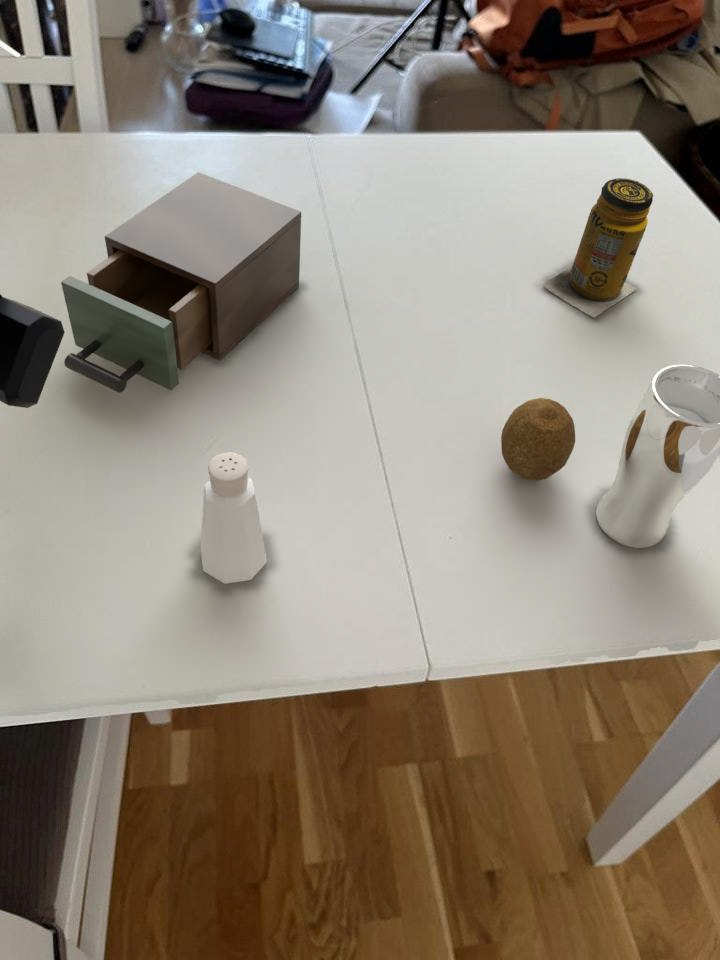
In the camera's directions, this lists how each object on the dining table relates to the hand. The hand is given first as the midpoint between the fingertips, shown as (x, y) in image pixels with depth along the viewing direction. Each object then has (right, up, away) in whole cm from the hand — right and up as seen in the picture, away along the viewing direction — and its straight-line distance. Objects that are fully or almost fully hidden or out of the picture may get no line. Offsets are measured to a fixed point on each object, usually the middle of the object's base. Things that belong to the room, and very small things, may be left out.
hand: (18, 335), depth 64 cm
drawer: (+6, +2, +17) cm, 18 cm away
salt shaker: (+16, -17, +2) cm, 24 cm away
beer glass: (+50, -15, +8) cm, 52 cm away
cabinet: (+11, +8, +23) cm, 27 cm away
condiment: (+52, +10, +30) cm, 61 cm away
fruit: (+41, -10, +11) cm, 44 cm away
